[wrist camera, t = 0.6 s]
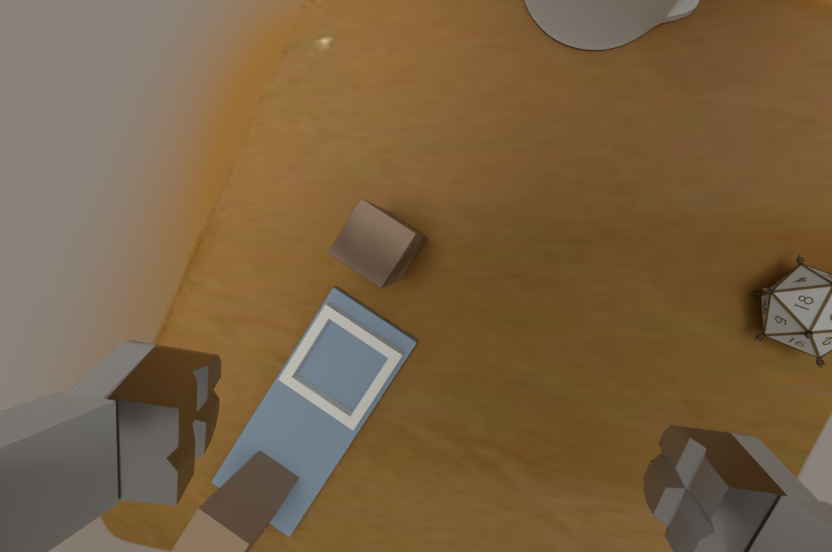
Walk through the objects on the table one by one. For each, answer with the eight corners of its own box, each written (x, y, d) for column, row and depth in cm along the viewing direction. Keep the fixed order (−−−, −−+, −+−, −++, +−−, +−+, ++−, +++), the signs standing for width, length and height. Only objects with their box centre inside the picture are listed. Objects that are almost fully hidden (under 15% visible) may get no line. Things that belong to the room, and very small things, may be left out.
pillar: (386, 210, 51) (361, 198, 39) (428, 237, 51) (415, 233, 39) (360, 252, 52) (327, 253, 40) (401, 279, 51) (380, 288, 39)
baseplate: (335, 286, 52) (291, 298, 39) (417, 341, 51) (400, 371, 38) (215, 478, 54) (136, 548, 41) (292, 532, 54) (236, 620, 41)
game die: (750, 284, 51) (795, 220, 43) (847, 321, 48) (916, 259, 40) (721, 352, 48) (764, 297, 40) (824, 398, 44) (894, 347, 36)
